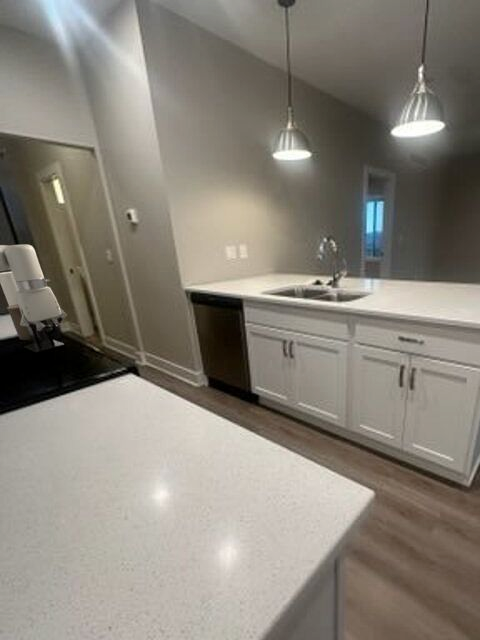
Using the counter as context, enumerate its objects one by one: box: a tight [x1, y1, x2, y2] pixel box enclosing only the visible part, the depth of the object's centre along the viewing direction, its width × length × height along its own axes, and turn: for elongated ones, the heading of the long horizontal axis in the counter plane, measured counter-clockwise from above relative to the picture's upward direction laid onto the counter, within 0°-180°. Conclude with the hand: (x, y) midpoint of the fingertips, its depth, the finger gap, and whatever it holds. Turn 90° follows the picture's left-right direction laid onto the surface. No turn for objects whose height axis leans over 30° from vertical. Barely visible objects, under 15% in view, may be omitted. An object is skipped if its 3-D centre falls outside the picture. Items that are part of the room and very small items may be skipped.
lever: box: [40, 321, 54, 336], centre depth 118 cm, size 13×3×3 cm, turn 54°
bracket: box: [24, 319, 65, 353], centre depth 122 cm, size 12×9×12 cm
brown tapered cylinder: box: [6, 304, 40, 341], centre depth 134 cm, size 10×10×15 cm
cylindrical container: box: [0, 271, 19, 307], centre depth 140 cm, size 7×7×25 cm
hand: (51, 338), depth 117 cm, fingers closed on lever, 3 cm apart
